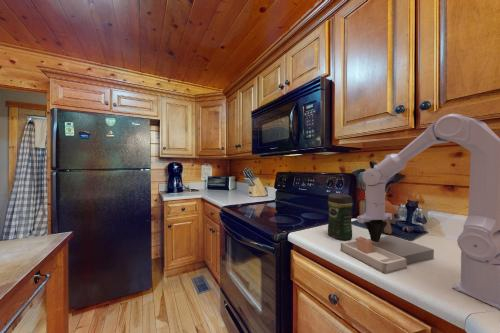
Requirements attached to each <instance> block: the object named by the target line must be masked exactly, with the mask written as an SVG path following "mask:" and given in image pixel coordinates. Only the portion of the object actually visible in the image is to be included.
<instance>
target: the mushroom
mask: <svg viewBox="0 0 500 333" xmlns="http://www.w3.org/2000/svg"><path fill="white" fill-rule="evenodd" d="M385 213H389V214H392V215H396V214H398V210H397V208H396V207H395V206H394V205H393V204H392V203H391V202H390V201H388V200H386V199H385ZM383 221H385V222H387V225H386V226H385V228H384V229H383V232H384V234H386V233H388V234H387V235H391V234H393V233H392V232H393V230H392V225H391V222H390V219H385V220H383Z"/></svg>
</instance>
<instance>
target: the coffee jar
mask: <svg viewBox="0 0 500 333" xmlns="http://www.w3.org/2000/svg"><path fill="white" fill-rule="evenodd" d="M327 204H328V219H327V220H328V221H327V222H328V223H327V234H328V235H329V236H331V237H332V238H335V239H337V240H345V241H347V240H349V241H350V240H351V239H352V238H353V226H352V225H353V224H352V207H353V197H352V196H351V195H348V194H345V193H338V192H337V193H334V192H332V193H329V194H328V197H327Z"/></svg>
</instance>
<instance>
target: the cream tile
mask: <svg viewBox="0 0 500 333" xmlns="http://www.w3.org/2000/svg"><path fill="white" fill-rule="evenodd" d="M367 255H369V256H372V257H374V258H376V259H378V260H380V261H382V262H389V261H390V258H388V257H386V256H383V255H381V254H379V253H377V252H374V253H369V254H367Z"/></svg>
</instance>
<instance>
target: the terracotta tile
mask: <svg viewBox="0 0 500 333" xmlns="http://www.w3.org/2000/svg"><path fill="white" fill-rule="evenodd" d="M368 239H369V238H368ZM368 239H367V238H365V237H362V236H357V237H355V240H356V242H357V250H359V251H361V252H363V253H365V254H369V253H373V251H372V241H370V240H368Z"/></svg>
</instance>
